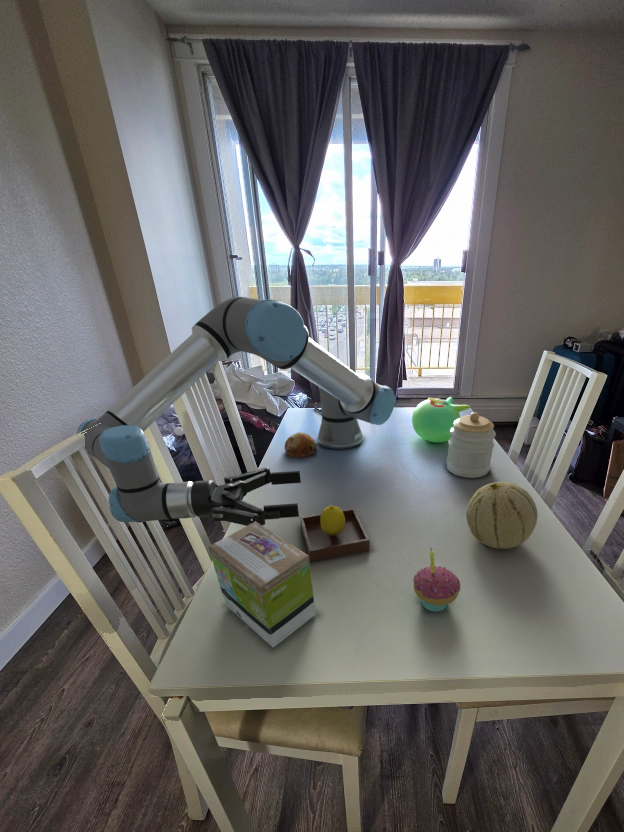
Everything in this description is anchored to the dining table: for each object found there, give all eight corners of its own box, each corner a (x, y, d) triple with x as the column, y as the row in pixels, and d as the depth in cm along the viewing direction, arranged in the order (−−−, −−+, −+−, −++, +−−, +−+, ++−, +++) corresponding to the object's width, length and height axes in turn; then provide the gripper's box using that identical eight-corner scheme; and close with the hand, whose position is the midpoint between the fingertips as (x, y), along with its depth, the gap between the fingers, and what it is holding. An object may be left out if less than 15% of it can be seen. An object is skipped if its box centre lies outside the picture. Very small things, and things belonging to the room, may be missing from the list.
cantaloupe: (541, 559, 87) (558, 500, 79) (476, 566, 86) (486, 506, 78) (512, 520, 100) (524, 465, 92) (454, 525, 98) (461, 470, 90)
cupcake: (402, 601, 77) (405, 552, 71) (431, 580, 82) (435, 532, 76) (439, 627, 72) (445, 577, 65) (466, 602, 77) (475, 553, 70)
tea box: (223, 606, 76) (205, 544, 68) (267, 578, 82) (256, 518, 75) (273, 651, 68) (259, 585, 60) (317, 615, 74) (310, 552, 66)
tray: (301, 527, 97) (300, 517, 96) (354, 518, 101) (354, 508, 99) (310, 562, 87) (309, 551, 85) (369, 550, 90) (369, 539, 88)
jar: (498, 473, 120) (509, 416, 111) (462, 482, 116) (470, 424, 106) (471, 455, 130) (479, 402, 121) (437, 463, 126) (442, 408, 116)
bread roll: (305, 453, 140) (295, 431, 138) (325, 447, 134) (315, 424, 132) (285, 464, 133) (275, 442, 131) (306, 459, 127) (295, 435, 124)
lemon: (342, 544, 90) (340, 514, 86) (318, 541, 91) (315, 511, 87) (348, 529, 95) (347, 500, 91) (325, 526, 96) (323, 498, 92)
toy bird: (404, 432, 147) (406, 391, 139) (447, 427, 151) (451, 388, 143) (422, 452, 132) (425, 409, 125) (469, 446, 136) (475, 404, 128)
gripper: (212, 485, 96) (302, 479, 99) (183, 552, 75) (299, 542, 78) (204, 456, 92) (299, 451, 95) (172, 518, 71) (294, 510, 74)
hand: (299, 492), depth 86 cm, fingers open, 13 cm apart
